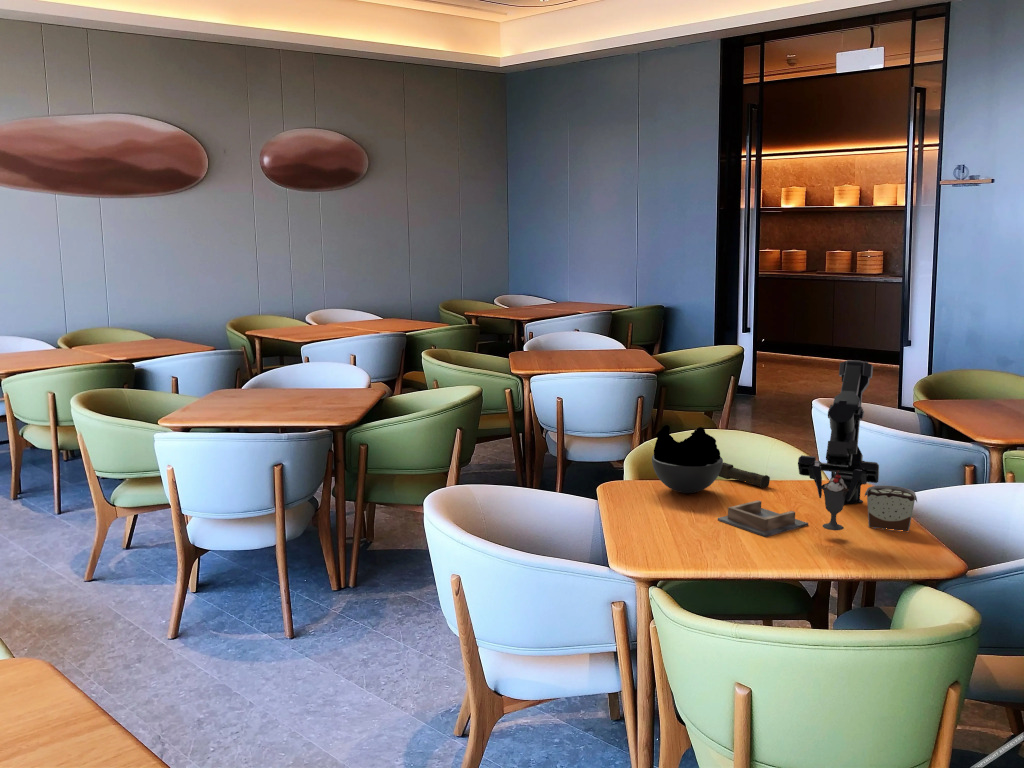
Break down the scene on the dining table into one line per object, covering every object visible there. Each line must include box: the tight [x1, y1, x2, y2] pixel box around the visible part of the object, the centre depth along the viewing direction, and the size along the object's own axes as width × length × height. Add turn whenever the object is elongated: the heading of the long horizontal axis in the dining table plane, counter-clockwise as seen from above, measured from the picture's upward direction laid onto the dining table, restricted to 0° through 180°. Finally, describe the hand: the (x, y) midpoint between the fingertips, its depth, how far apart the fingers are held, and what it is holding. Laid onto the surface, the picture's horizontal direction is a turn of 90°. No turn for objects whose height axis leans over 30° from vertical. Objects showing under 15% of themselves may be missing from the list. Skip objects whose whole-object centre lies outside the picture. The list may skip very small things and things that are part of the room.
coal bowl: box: [651, 424, 724, 494], centre depth 267 cm, size 20×20×19 cm
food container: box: [864, 484, 918, 532], centre depth 237 cm, size 12×6×10 cm, turn 65°
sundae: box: [821, 470, 849, 531], centre depth 228 cm, size 7×7×15 cm
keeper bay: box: [717, 499, 809, 538], centre depth 241 cm, size 16×16×4 cm
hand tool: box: [718, 462, 771, 490], centre depth 279 cm, size 19×4×5 cm, turn 36°
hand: (834, 498), depth 227 cm, fingers closed on sundae, 6 cm apart
